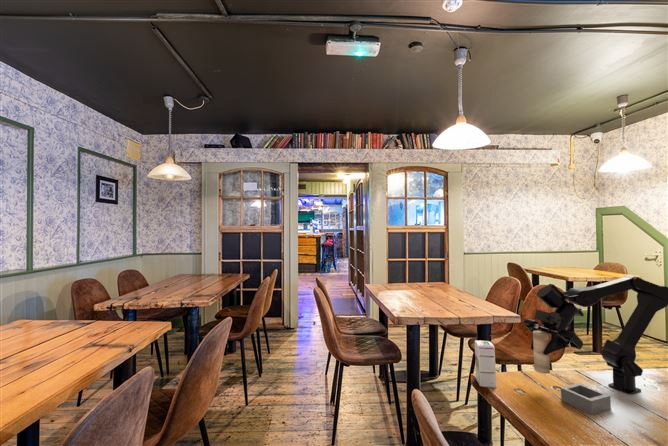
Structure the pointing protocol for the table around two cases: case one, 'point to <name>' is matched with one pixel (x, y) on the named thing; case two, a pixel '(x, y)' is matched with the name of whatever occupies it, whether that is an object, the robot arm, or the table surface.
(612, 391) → the table surface
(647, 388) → the table surface
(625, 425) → the table surface
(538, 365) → the wooden peg
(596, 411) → the square sleeve socket
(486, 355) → the syrup box
